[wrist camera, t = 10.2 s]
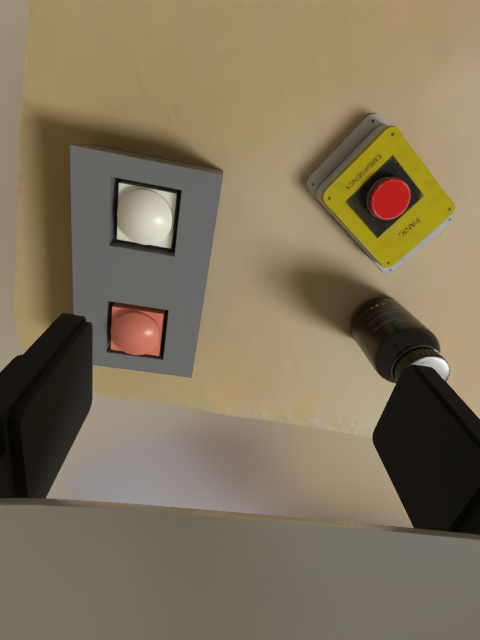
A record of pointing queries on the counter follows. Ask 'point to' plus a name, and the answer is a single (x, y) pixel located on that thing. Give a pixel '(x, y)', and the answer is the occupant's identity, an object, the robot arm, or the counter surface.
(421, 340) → the supplement bottle
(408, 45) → the counter surface
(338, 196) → the emergency button
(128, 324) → the red button
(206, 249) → the button panel
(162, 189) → the ivory button
